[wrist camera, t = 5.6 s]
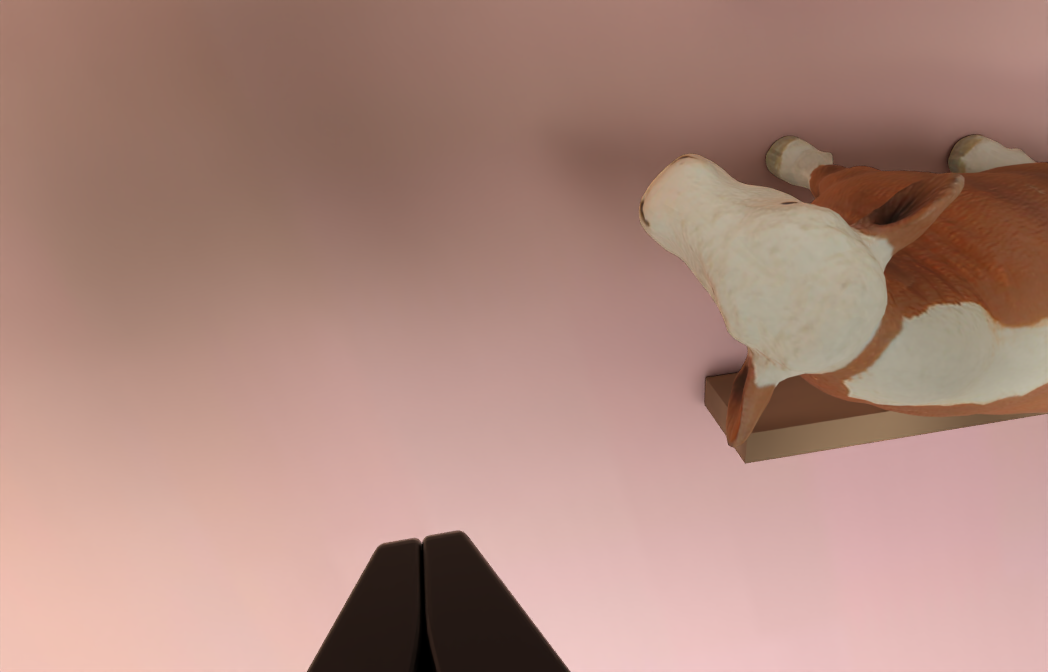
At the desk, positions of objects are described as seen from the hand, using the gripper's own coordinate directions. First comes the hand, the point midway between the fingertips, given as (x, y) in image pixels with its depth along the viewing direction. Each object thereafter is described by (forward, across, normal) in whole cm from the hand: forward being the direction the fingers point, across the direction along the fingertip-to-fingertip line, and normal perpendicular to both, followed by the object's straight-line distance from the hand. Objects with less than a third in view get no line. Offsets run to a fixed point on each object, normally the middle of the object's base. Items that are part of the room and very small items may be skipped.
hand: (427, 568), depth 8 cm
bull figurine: (+10, -10, 0) cm, 14 cm away
